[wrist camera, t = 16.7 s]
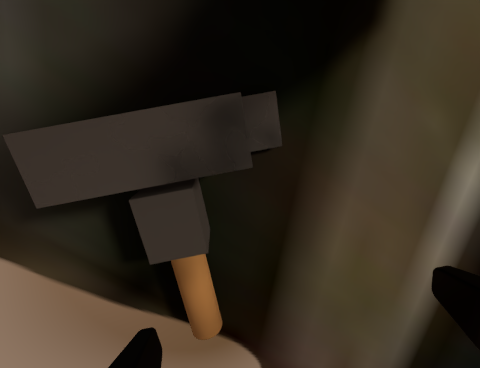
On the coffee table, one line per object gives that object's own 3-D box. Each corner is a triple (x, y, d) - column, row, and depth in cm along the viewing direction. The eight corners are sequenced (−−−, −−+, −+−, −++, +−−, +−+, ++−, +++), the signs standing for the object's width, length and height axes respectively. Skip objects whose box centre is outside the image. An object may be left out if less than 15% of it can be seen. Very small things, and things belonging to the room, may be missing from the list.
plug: (145, 183, 19) (128, 200, 15) (197, 174, 19) (192, 188, 16) (187, 317, 23) (180, 355, 20) (229, 309, 23) (230, 345, 20)
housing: (272, 91, 18) (297, 81, 12) (279, 144, 19) (305, 157, 13) (32, 135, 17) (-60, 146, 12) (54, 186, 19) (-20, 219, 13)
